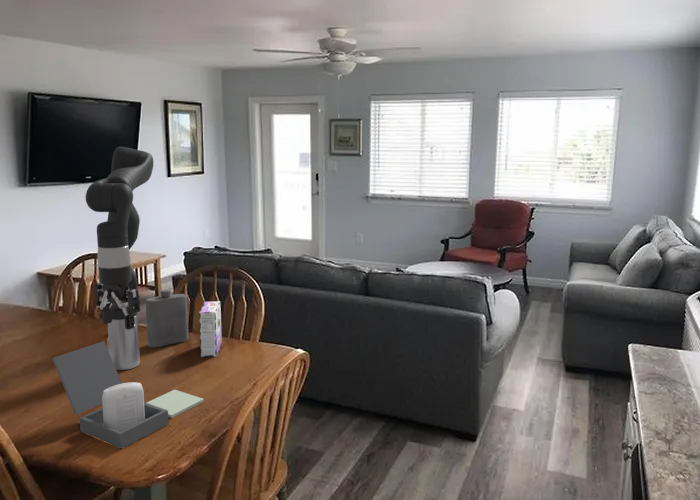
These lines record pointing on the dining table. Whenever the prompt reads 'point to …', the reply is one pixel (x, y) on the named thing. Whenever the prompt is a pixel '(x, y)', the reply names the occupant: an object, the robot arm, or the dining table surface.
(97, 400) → the case lid
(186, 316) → the flask
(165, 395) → the mat
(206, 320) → the candy box
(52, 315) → the dining table surface
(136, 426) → the case
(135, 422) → the white slotted device
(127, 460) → the dining table surface
